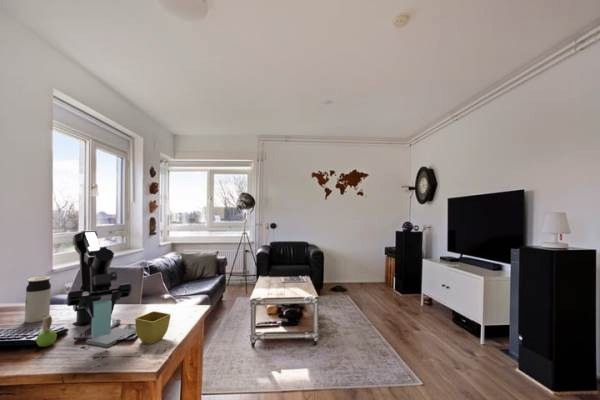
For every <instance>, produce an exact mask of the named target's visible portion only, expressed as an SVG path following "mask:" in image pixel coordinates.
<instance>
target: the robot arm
mask: <svg viewBox="0 0 600 400" xmlns="http://www.w3.org/2000/svg"><path fill="white" fill-rule="evenodd" d="M72 245H73V246H74V251H76V253H77V254H78V255H79V274H80V276H79V277H80V278H79V279H80V282H79V283H80V287H79V288H78V289H76V290H69V292H68V293H67V302H66V303H67V306H68V307H72V309H73V311H74V312H76V321H75V322H73V323H72V325H74V326H82V327H85V326H87V325H92V318H93V317H94V315H93V301H98V300H102V297H105V296H106V297H107V296H111V297H110V300H111V302H112V310H111V315H112V314H113V311H114V308H115V306H116V305H115V304H116V302H117V301H119V300H121V299H122V298H127V297H129V296H130V295H131V291H132V284H131V283H129V282H128V283H127V282H126V283H121V284H118V286H117V288H112V282H116V281H117V280H118V272H117V271H115V270H114V271H110V272H109V268H110V267H111V265H112V261H113V259H114V256H115V253H114V252H113V250H111V249H109V248H107V246H103V245H101V243H100V241H99V238H98V233H97V230H94V229H89V230H87V229H85V230H81V232H78V233H75V234H74V236H73V237H72Z"/></svg>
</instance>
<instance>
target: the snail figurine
mask: <svg viewBox="0 0 600 400" xmlns="http://www.w3.org/2000/svg"><path fill="white" fill-rule="evenodd" d="M44 316H47V315H43V320H42V321H41V322H42V332H40V333H39V334H38V335H37V337H36V339H35V343H36V344H37V345H38V347H40V348H43V347H44V348H45V347H50V346H51V345H52V344H54V342H55V341H56V340H57V336H58V335H57V332H56V331H55V330H53V329H51V326H52V323H53V317H52V316H51V315H49V316H47V317H46V318H44Z"/></svg>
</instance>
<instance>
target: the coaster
mask: <svg viewBox="0 0 600 400" xmlns="http://www.w3.org/2000/svg"><path fill="white" fill-rule="evenodd" d="M134 331H135V332H136V329H130V328H129V329H128V328H122V327H116V326H115V327H113V328H111V332H110V334H108V335H104V336H99V337H96V338H92V337H91V338H92V339H90V338H88V339H86V341H85V344H88V345H92V346H98V347H103V348H109V347H110V346H113V345H114V344H117V343H118V342H117V340H118V339H119V337H120V336H123V335H125V334H127V333H128V334H129V333H132V332H134ZM116 342H117V343H116Z"/></svg>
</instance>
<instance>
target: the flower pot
mask: <svg viewBox="0 0 600 400" xmlns="http://www.w3.org/2000/svg"><path fill="white" fill-rule="evenodd" d="M170 319H171V314H170V313H167V312H161V311H154V310H152V311H150V312H148V313H145V314H143V315H140V316H137V317H135V319H134V321H135V333H136V335H137V337H138V338H139V340H140V342H141V343H146V344H151V345H152V344H155V343H156V342H158V341H160V340H162V339H163V338H164V337H165V335H166V333H167V332H168V329H169V326H170V322H171V321H170Z"/></svg>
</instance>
